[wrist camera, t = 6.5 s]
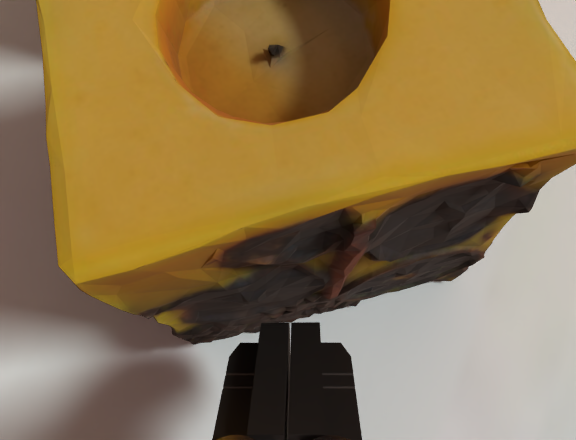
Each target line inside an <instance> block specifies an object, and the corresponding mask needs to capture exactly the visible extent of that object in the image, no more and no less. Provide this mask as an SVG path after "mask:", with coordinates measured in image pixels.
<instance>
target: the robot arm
mask: <svg viewBox="0 0 576 440" xmlns="http://www.w3.org/2000/svg"><path fill="white" fill-rule="evenodd" d="M212 440H362V436H361V429H360V421H359V414H358V406H357V399H356V391H355V384H354V376H353V369H352V361H351V356H350V355H349V353H348V352H347V351H346V349H345V348H344V347H343V345H342V344H341V343H321V340H320V323H292V325H291V353H290V325H289V323H261V327H260V335H259V342H258V343H240V344H239V345H238V346H237V348H236V349H235V350H234V351H233V353H232V354H231V355H230V356H229V361H228V366H227V371H226V376H225V380H224V385H223V390H222V395H221V400H220V405H219V410H218V415H217V420H216V425H215V430H214V435H213V439H212Z"/></svg>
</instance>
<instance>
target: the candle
mask: <svg viewBox="0 0 576 440" xmlns="http://www.w3.org/2000/svg"><path fill="white" fill-rule="evenodd" d="M36 5H37V13H38V21H39V29H40V38H41V46H42V54H43V70H44V86H45V102H46V140H47V147H48V155H49V162H50V173H51V186H52V199H53V212H54V225H55V235H56V246H57V257H58V266H59V267H60V268H61V269H62V271H63V272H64V273H65V274H66V275H67V276H68V277H69V278H70V279H71V280H72V282H73V283H74V284H75V285H76V286H77V287H78V288H79V289H80V290H81V291H83V292H85V293H86V294H88V295H90V296H92V297H94V298H96V299H98V300H100V301H103V302H105V303H107V304H109V305H111V306H113V307H116V308H118V309H120V310H123V311H126V312H128V313H131V314H135V315H142V316H144V317H146V318H148V319H149V318H151V317H154V318H155V319H156V321H157V322H158V323H161V324H166V325H169V326H171V328H172V334H173V335H175V336H177V337H179V338H181V339H184V340H187V341H191V343H192V344H198V343H205V342H212V341H213V340H219V339H225V338H229V337H233V336H237V335H239V334H241V333H242V332H252V333H257V332H259V331H260V327H261V323H279V322H280V321H284V322H293V321H294V320H296V319H298V318H303V317H310V316H311V315H312V314H314V313H317V314H321V313H323V312H328V311H333V310H336V309H340V308H344V307H346V306H348V305H349V306H356V305H357V304H358V303H359V302H360V300H364V299H368V298H372V297H375V296H378V295H381V294H384V293H387V292H396V291H400V290H403V289H407V288H410V287H413V286H417V285H420V284H423V283H426V282H429V281H433V280H435V281H452V280H453V279H455V278H457V277H458V276H460V275H461V274H462V273H463V272H465V271H466V270H467V269H468V267H469V266H471V265H473V264H475V263H476V262H478V261H479V260H481V259H482V258H484V253H485V251H486V250H487V249H488V247H489V246H490V245H491V244H492V241H493V240H494V238H495V237H496V236H497V234H498V233H499V232H500V230H501V229H502V227H503V226H504V225H505V224H506V223H507V222H508V221H509V220H510V219H511V217H512V216H514V215H515V214H516V213H527V212H529V211H530V210H531V209H532V207H533V204H534V202H535V200H536V197H537V195H538V192H539V190H540V189H541V188H542V187H543V186H544V185H545V184H546V183H547V182H548V181H549V180H550V179H551V178H552V177H554V176H556V175H557V174H559V173H561V172H563V171H564V170H566V169H568V168H569V167H571V166H573V165H575V164H576V61H575V60H574V58H573V57H572V55H571V54H570V53H569V51H568V50H567V48H566V47H565V45H564V44H563V43H562V41H561V40H560V38H559V37H558V35H557V34H556V33H555V31H554V30H553V28H552V27H551V25H550V24H549V23H548V21H547V20H546V17H545V15H544V13H543V11H542V8H541V6H540V4H539V2H538V0H36Z"/></svg>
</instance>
